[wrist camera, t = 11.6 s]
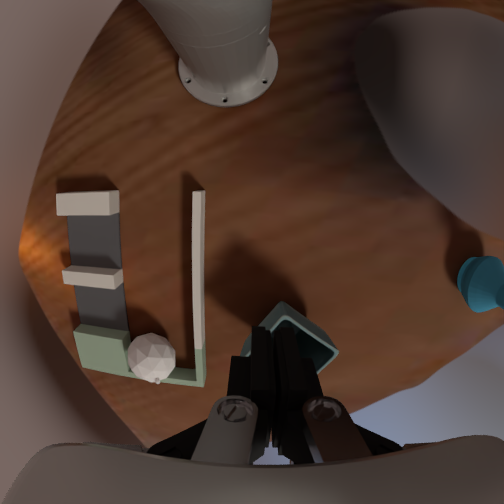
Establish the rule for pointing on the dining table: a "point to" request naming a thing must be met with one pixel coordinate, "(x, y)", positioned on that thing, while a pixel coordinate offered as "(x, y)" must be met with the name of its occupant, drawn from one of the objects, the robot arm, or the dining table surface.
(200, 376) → the u-shaped rail frame
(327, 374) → the dining table surface
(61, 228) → the dining table surface
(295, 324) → the flower pot
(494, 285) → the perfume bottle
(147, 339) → the ornament
